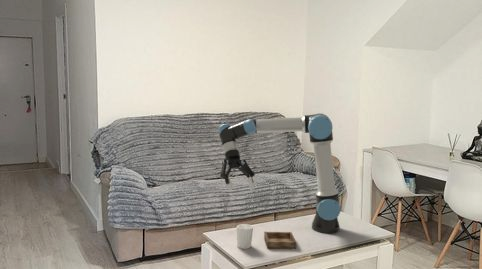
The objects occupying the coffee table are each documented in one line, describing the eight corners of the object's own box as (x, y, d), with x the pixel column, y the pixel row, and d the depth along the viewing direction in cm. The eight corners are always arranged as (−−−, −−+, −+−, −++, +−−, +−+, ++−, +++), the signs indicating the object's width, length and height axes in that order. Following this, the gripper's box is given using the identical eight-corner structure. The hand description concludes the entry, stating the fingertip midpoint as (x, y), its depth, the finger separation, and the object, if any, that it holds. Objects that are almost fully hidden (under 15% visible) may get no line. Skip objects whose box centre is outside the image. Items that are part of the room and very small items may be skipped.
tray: (291, 238, 225) (291, 232, 224) (295, 249, 211) (296, 242, 210) (264, 238, 224) (264, 231, 223) (267, 248, 210) (267, 241, 210)
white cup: (239, 250, 207) (240, 230, 206) (233, 244, 214) (234, 224, 213) (254, 248, 210) (255, 228, 209) (248, 242, 217) (248, 223, 216)
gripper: (246, 156, 236) (256, 192, 228) (207, 154, 221) (217, 193, 212) (254, 149, 231) (265, 186, 222) (215, 147, 216) (225, 186, 207)
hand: (242, 189), depth 217 cm, fingers open, 13 cm apart
